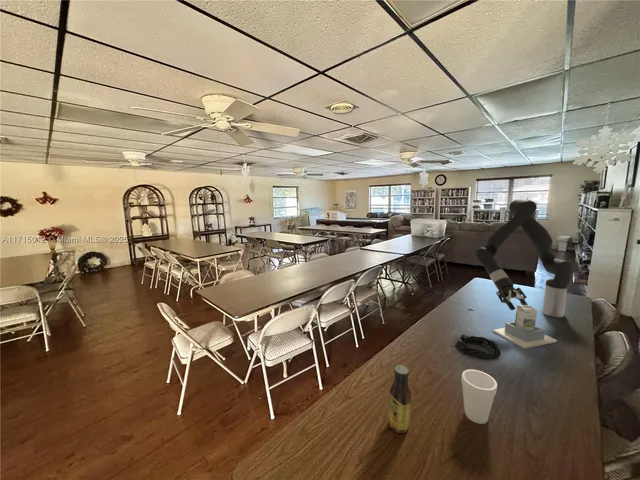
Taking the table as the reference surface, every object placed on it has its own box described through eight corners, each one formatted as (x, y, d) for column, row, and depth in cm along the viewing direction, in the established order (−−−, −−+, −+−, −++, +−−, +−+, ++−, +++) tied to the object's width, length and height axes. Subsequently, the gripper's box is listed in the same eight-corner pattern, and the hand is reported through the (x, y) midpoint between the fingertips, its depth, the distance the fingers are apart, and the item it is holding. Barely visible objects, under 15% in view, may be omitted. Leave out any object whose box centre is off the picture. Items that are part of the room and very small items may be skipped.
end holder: (523, 326, 138) (524, 316, 137) (556, 342, 122) (558, 331, 122) (493, 331, 133) (493, 321, 132) (524, 348, 118) (525, 337, 117)
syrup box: (525, 331, 131) (528, 304, 128) (534, 337, 125) (537, 309, 122) (513, 331, 131) (516, 304, 129) (521, 337, 125) (524, 309, 123)
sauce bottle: (385, 418, 82) (386, 362, 79) (404, 416, 83) (406, 360, 80) (392, 436, 76) (394, 376, 73) (413, 434, 76) (415, 374, 73)
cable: (504, 352, 116) (505, 343, 115) (494, 366, 107) (495, 356, 106) (463, 337, 128) (464, 329, 128) (451, 348, 120) (452, 340, 119)
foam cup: (480, 432, 77) (483, 394, 74) (453, 409, 85) (455, 374, 83) (500, 421, 80) (504, 384, 78) (472, 400, 89) (475, 366, 87)
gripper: (495, 278, 133) (514, 307, 124) (516, 275, 137) (537, 303, 127) (485, 284, 139) (503, 313, 130) (506, 281, 142) (525, 309, 133)
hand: (520, 308), depth 129 cm, fingers open, 8 cm apart
